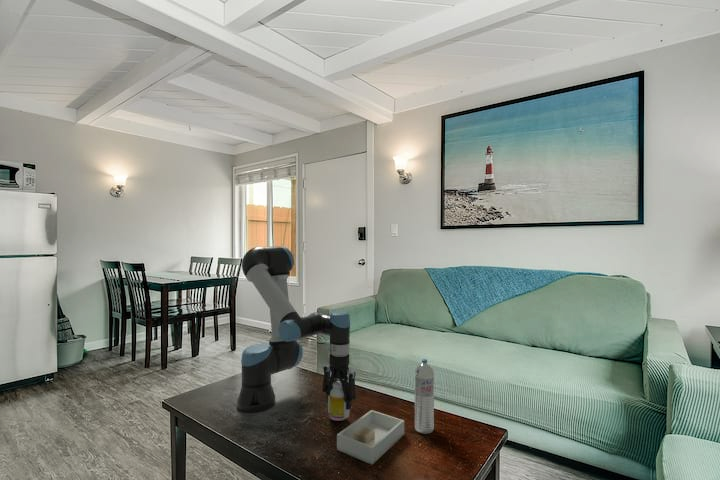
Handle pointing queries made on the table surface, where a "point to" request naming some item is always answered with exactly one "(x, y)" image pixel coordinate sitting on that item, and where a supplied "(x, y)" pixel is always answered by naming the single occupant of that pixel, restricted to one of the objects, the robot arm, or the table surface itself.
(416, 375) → the water bottle
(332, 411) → the supplement bottle
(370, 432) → the maple cube
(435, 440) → the table surface
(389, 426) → the tote
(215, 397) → the table surface
